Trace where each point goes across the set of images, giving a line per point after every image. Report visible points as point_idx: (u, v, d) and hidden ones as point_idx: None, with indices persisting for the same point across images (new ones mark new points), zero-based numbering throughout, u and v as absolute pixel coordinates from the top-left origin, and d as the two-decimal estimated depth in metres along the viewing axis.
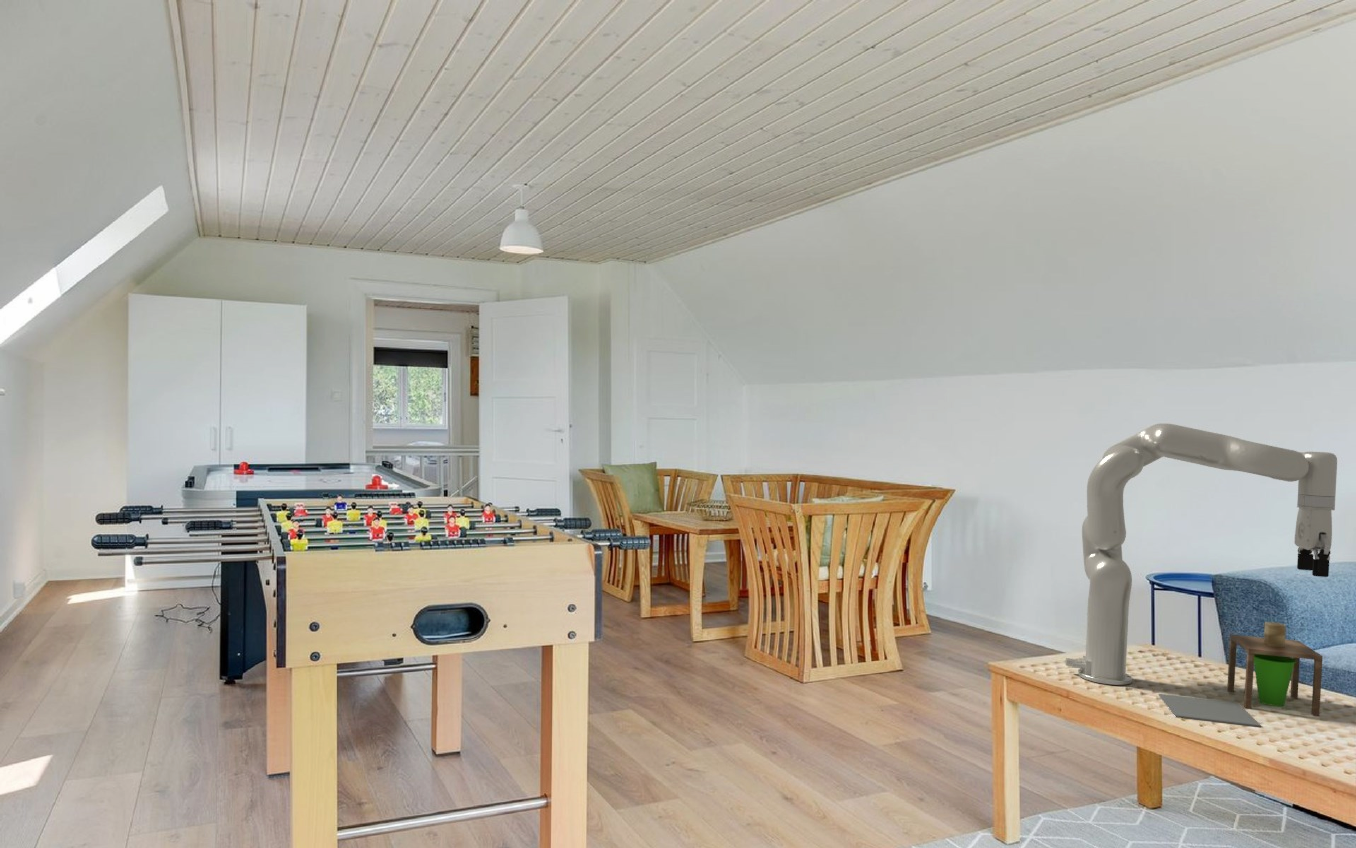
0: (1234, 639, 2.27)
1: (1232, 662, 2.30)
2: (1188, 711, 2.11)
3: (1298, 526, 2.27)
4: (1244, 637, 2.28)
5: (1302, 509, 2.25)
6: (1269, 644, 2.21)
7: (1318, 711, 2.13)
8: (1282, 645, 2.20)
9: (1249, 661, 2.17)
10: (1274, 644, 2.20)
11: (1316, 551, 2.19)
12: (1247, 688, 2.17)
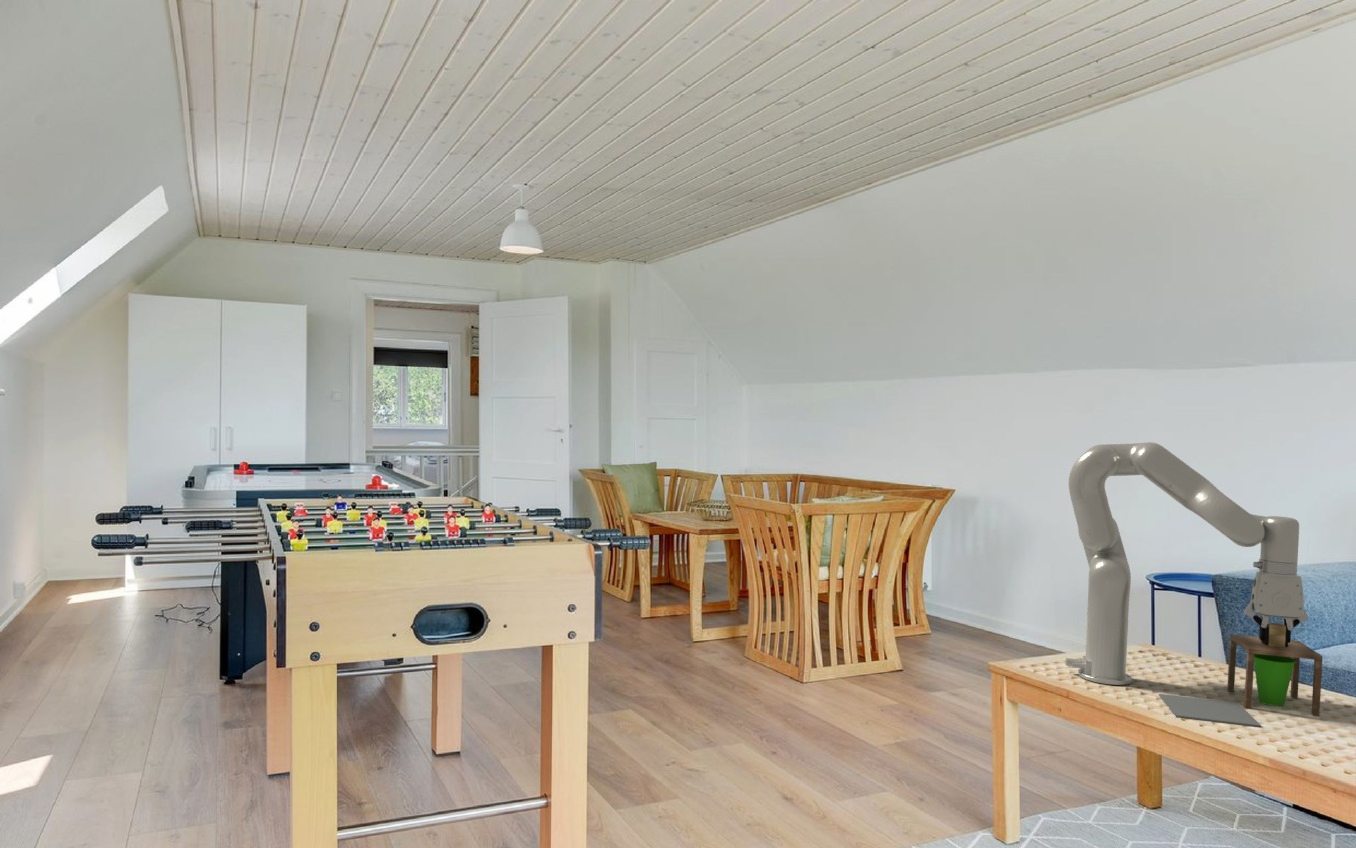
0: (1234, 639, 2.27)
1: (1232, 662, 2.30)
2: (1188, 711, 2.11)
3: (1271, 595, 2.19)
4: (1244, 637, 2.28)
5: (1278, 577, 2.19)
6: (1269, 644, 2.21)
7: (1318, 711, 2.13)
8: (1282, 645, 2.20)
9: (1249, 661, 2.17)
10: (1274, 644, 2.20)
11: (1292, 622, 2.20)
12: (1247, 688, 2.17)
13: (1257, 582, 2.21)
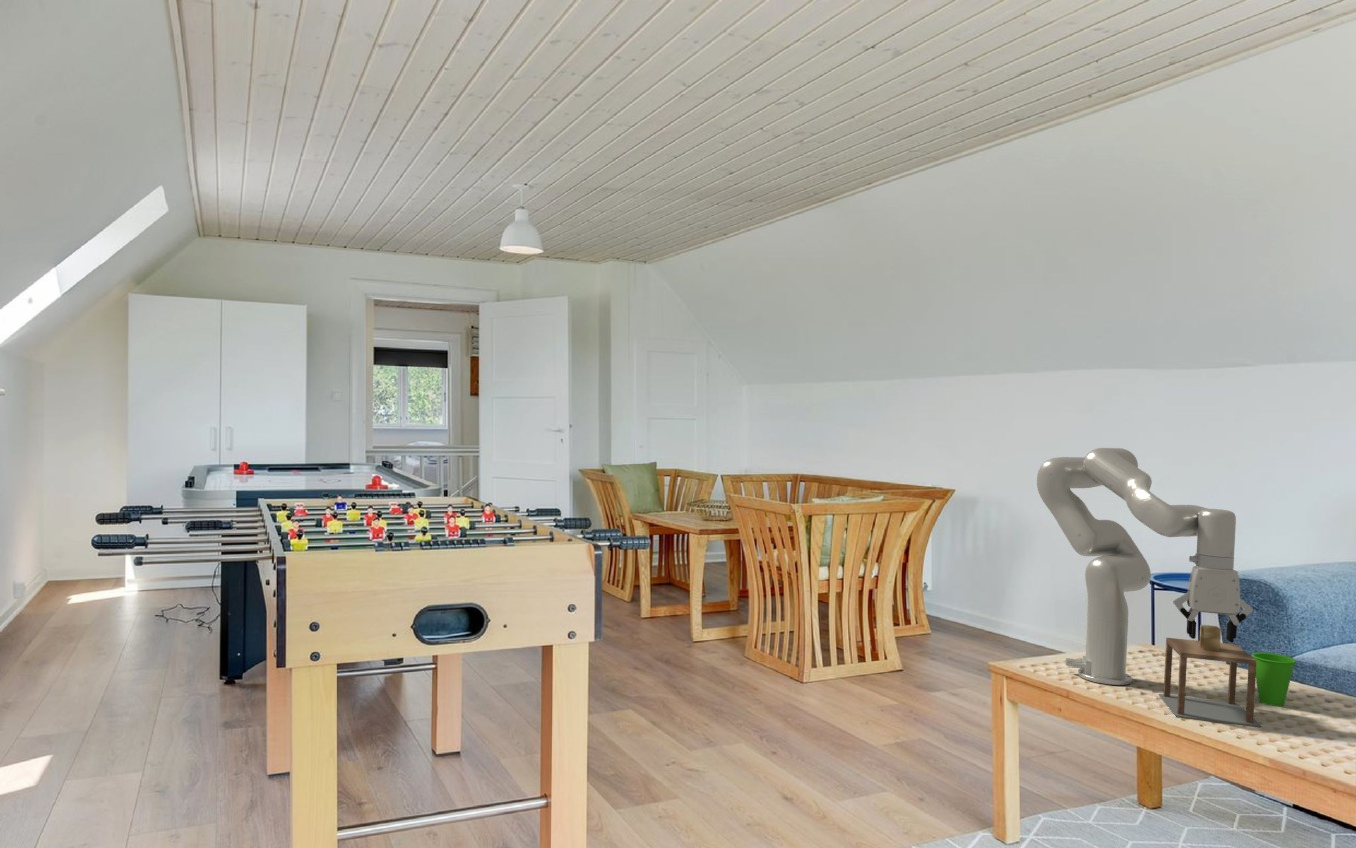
0: (1169, 642, 2.19)
1: (1168, 666, 2.22)
2: (1188, 711, 2.11)
3: (1206, 590, 2.11)
4: (1180, 640, 2.20)
5: (1214, 572, 2.11)
6: (1204, 648, 2.13)
7: (1252, 717, 2.05)
8: (1217, 649, 2.12)
9: (1182, 665, 2.09)
10: (1209, 648, 2.12)
11: (1235, 616, 2.11)
12: (1180, 693, 2.09)
13: (1193, 577, 2.13)
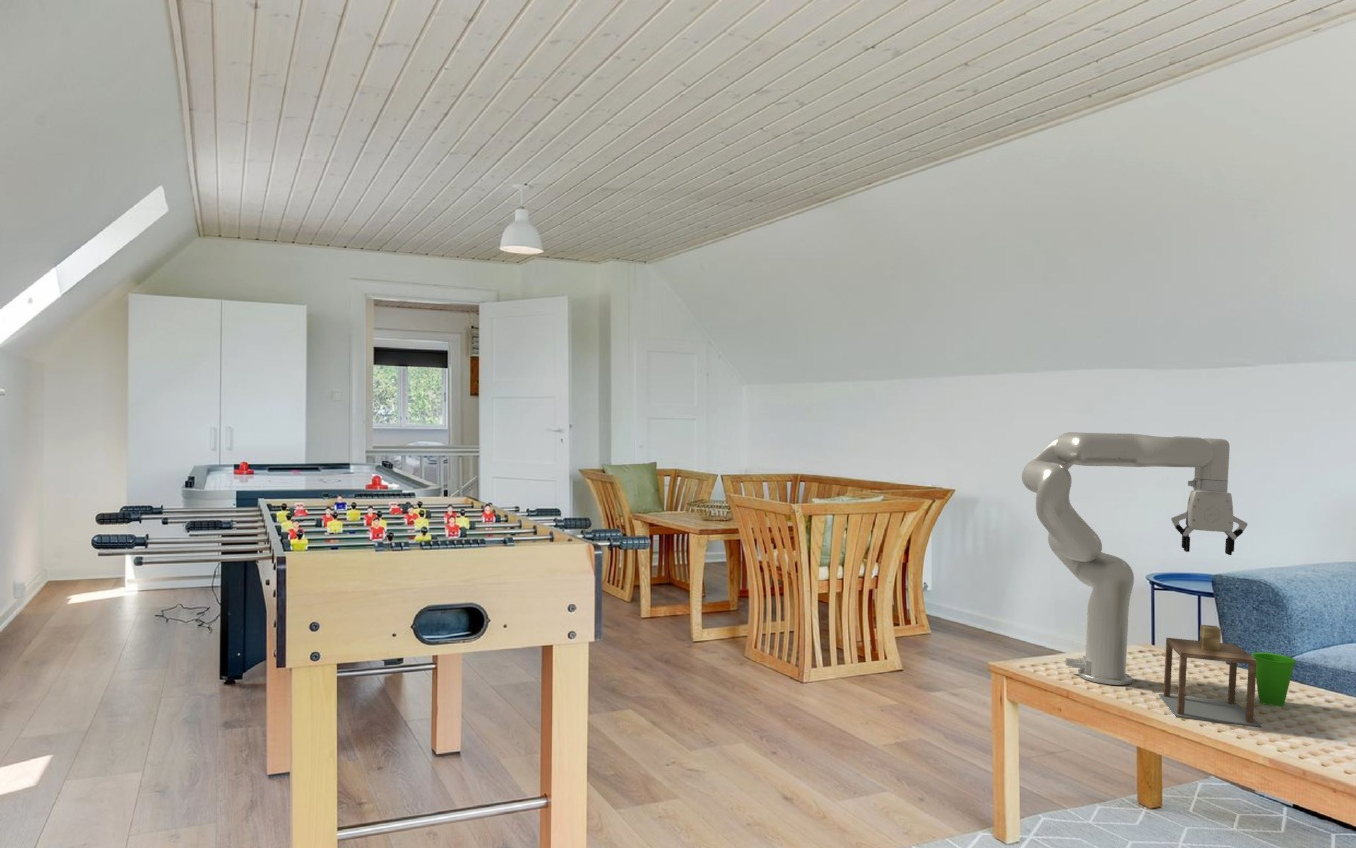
0: (1169, 642, 2.19)
1: (1168, 666, 2.22)
2: (1188, 711, 2.11)
3: (1203, 511, 2.35)
4: (1180, 640, 2.20)
5: (1210, 494, 2.35)
6: (1204, 648, 2.13)
7: (1252, 717, 2.05)
8: (1217, 649, 2.12)
9: (1182, 665, 2.09)
10: (1209, 648, 2.12)
11: (1232, 532, 2.35)
12: (1180, 693, 2.09)
13: (1191, 499, 2.37)
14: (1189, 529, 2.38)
